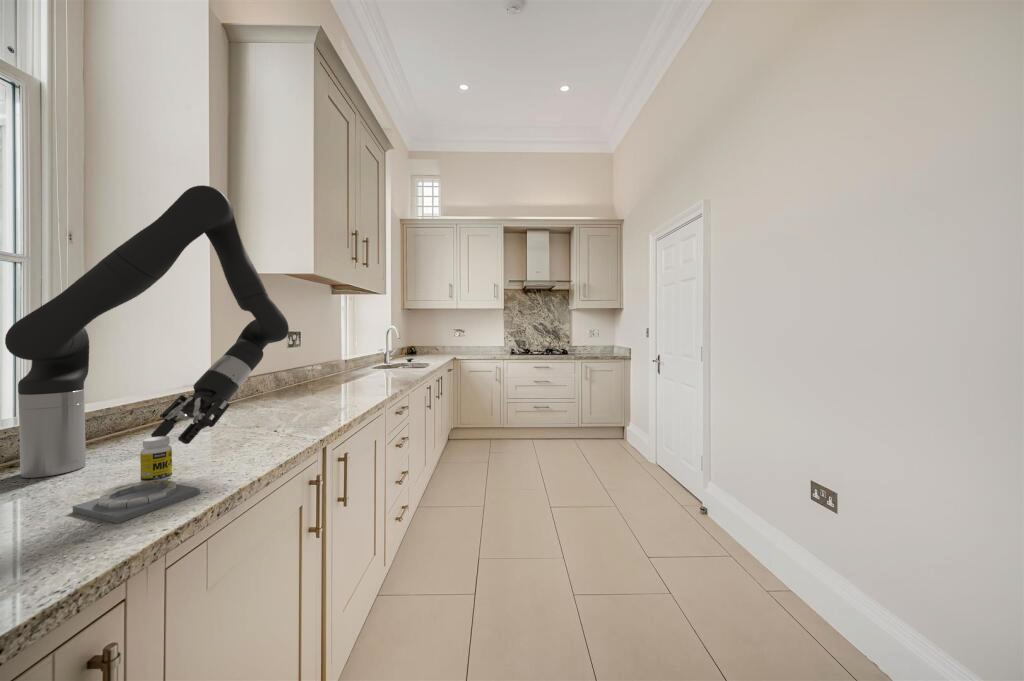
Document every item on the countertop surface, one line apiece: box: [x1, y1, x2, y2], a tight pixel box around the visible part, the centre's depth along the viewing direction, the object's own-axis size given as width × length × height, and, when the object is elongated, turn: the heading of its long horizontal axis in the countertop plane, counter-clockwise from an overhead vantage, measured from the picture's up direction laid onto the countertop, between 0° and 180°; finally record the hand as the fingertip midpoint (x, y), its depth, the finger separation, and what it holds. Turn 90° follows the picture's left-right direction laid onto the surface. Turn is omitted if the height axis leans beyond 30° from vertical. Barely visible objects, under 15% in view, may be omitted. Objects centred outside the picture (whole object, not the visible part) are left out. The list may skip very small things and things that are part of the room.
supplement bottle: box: [139, 435, 173, 483], centre depth 80 cm, size 5×5×8 cm
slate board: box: [72, 483, 201, 524], centre depth 69 cm, size 12×12×1 cm
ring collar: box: [98, 479, 177, 510], centre depth 69 cm, size 10×10×1 cm
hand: (168, 440), depth 82 cm, fingers open, 8 cm apart
